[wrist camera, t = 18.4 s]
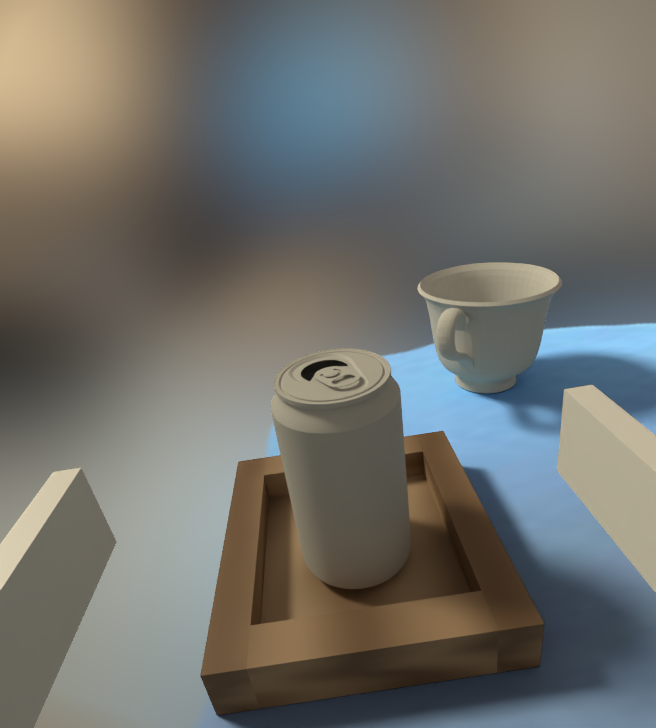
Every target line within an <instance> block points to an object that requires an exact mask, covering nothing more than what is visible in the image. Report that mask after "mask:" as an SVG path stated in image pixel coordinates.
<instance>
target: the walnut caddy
mask: <svg viewBox="0 0 656 728" xmlns="http://www.w3.org/2000/svg"><path fill="white" fill-rule="evenodd" d="M404 449H405V463H406V477H407V490H408V504H409V517H410V531H411V549H410V553H409V556H408V558H407V560H406V562H405V564H404V565H403V567H402V568H401V569H400V570H399V571H398V572H397V573H396V574H395V575H394V576H393V577H391V578H390V579H388V580H387V581H385V582H383V583H381V584H378V585H376V586H373V587H369V588H363V589H343V588H338V587H335V586H331V585H329V584H327V583H325V582H323V581H321V580H320V579H318V578H317V577H316V576H315V575H314V574H313V573H312V572H311V571H310V570H309V568H308V567H307V565H306V563H305V561H304V558H303V555H302V551H301V546H300V541H299V537H298V532H297V528H296V523H295V518H294V514H293V509H292V505H291V500H290V495H289V491H288V486H287V482H286V477H285V472H284V468H283V463H282V459H281V455H279V456H273V457H266V458H259V459H253V460H246V461H240V462H238V467H237V472H236V478H235V484H234V489H233V496H232V501H231V507H230V512H229V518H228V524H227V529H226V535H225V540H224V546H223V551H222V557H221V563H220V568H219V574H218V580H217V585H216V591H215V597H214V602H213V608H212V613H211V619H210V625H209V630H208V636H207V642H206V647H205V653H204V659H203V665H202V670H201V678H202V680H203V683H204V686H205V688H206V690H207V693H208V695H209V698H210V700H211V702H212V705H213V707H214V710H215V712H216V714H217V715H222V714H229V713H236V712H242V711H249V710H255V709H262V708H268V707H275V706H282V705H288V704H295V703H301V702H308V701H315V700H321V699H328V698H334V697H341V696H348V695H354V694H361V693H367V692H374V691H380V690H387V689H394V688H400V687H407V686H413V685H420V684H427V683H433V682H440V681H446V680H453V679H460V678H466V677H473V676H479V675H486V674H493V673H499V672H506V671H512V670H519V669H525V668H532V667H539V666H540V660H541V651H542V641H543V631H544V622H543V620H542V618H541V617H540V615H539V613H538V611H537V609H536V607H535V605H534V603H533V601H532V599H531V597H530V596H529V594H528V592H527V590H526V588H525V586H524V584H523V582H522V580H521V578H520V576H519V575H518V573H517V571H516V569H515V567H514V565H513V563H512V561H511V559H510V557H509V555H508V554H507V552H506V550H505V548H504V546H503V544H502V542H501V540H500V538H499V536H498V534H497V533H496V531H495V529H494V527H493V525H492V523H491V521H490V519H489V517H488V515H487V513H486V512H485V510H484V508H483V506H482V504H481V502H480V500H479V498H478V496H477V494H476V492H475V491H474V489H473V487H472V485H471V483H470V481H469V479H468V477H467V475H466V473H465V471H464V469H463V468H462V466H461V464H460V462H459V460H458V458H457V456H456V454H455V452H454V450H453V448H452V447H451V445H450V443H449V441H448V439H447V437H446V435H445V433H444V431H439V432H432V433H426V434H419V435H412V436H406V437H404Z"/></svg>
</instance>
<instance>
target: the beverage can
mask: <svg viewBox="0 0 656 728" xmlns="http://www.w3.org/2000/svg"><path fill="white" fill-rule="evenodd" d="M274 388H275V394H274V397H273V399H272V402H271V413H272V417H273V422H274V426H275V431H276V436H277V440H278V445H279V449H280V454H281V459H282V463H283V468H284V472H285V477H286V482H287V486H288V491H289V495H290V500H291V505H292V509H293V514H294V518H295V523H296V528H297V532H298V537H299V541H300V546H301V551H302V555H303V558H304V561H305V563H306V565H307V567H308V568H309V570H310V571H311V572H312V573H313V574H314V575H315V576H316V577H317V578H318V579H320V580H321V581H323V582H325V583H327V584H329V585H331V586H335V587H338V588H343V589H363V588H369V587H373V586H376V585H378V584H381V583H383V582H385V581H387V580H388V579H390V578H391V577H393V576H394V575H395V574H396V573H397V572H398V571H399V570H400V569H401V568H402V567H403V565H404V564H405V562H406V560H407V558H408V556H409V553H410V549H411V531H410V517H409V504H408V490H407V477H406V463H405V449H404V436H403V422H402V408H401V395H400V388H399V386H398V384H397V382H396V381H395V380H394V378H393V377H392V376H391V368H390V365H389V363H388V361H387V360H386V359H384V358H383V357H382V356H380V355H378V354H376V353H373V352H370V351H365V350H360V349H333V350H325V351H320V352H315V353H312V354H308V355H305V356H303V357H300V358H298V359H296V360H294V361H292V362H290V363H288V364H287V365H286V366H284V367H283V368H282V369H281V370H280V371H279V372H278V373H277V375H276V377H275V379H274Z"/></svg>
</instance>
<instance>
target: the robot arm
mask: <svg viewBox="0 0 656 728" xmlns="http://www.w3.org/2000/svg"><path fill="white" fill-rule="evenodd" d="M557 471H558V472H559V474H560V475H561V476H562V477H563V479H564V480H565V481H566V482H567V483H568V485H569V486H570V487H571V488H572V490H573V491H574V492H575V493H576V495H577V496H578V497H579V498H580V500H581V501H582V502H583V503H584V505H585V506H586V507H587V508H588V510H589V511H590V512H591V513H592V514H593V516H594V517H595V518H596V519H597V521H598V522H599V523H600V524H601V526H602V527H603V528H604V529H605V531H606V532H607V533H608V534H609V536H610V537H611V538H612V539H613V541H614V542H615V543H616V544H617V545H618V547H619V548H620V549H621V550H622V552H623V553H624V554H625V555H626V557H627V558H628V559H629V560H630V562H631V563H632V564H633V565H634V567H635V568H636V569H637V570H638V572H639V573H640V574H641V575H642V576H643V578H644V579H645V580H646V581H647V583H648V584H649V585H650V586H651V588H652V589H653V590H654V591H655V593H656V436H655V435H654V434H653V433H652V432H651V431H649V430H648V429H647V428H646V427H644V426H643V425H642V424H641V423H639V422H638V421H637V420H636V419H634V418H633V417H632V416H631V415H629V414H628V413H627V412H626V411H624V410H623V409H622V408H621V407H619V406H618V405H617V404H616V403H615V402H613V401H612V400H611V399H610V398H608V397H607V396H606V395H605V394H603V393H602V392H601V391H600V390H598V389H597V388H596V387H595V386H593V385H587V386H581V387H575V388H569V389H564V396H563V407H562V419H561V431H560V442H559V454H558V465H557ZM115 544H116V540H115V538H114V535H113V533H112V531H111V529H110V527H109V525H108V523H107V521H106V519H105V517H104V514H103V512H102V510H101V509H100V506H99V504H98V502H97V500H96V498H95V496H94V494H93V491H92V489H91V487H90V485H89V483H88V481H87V479H86V477H85V475H84V473H83V470H82V468H76V469H70V470H64V471H58V472H53V473H52V474H51V476H50V477H49V479H48V480H47V481H46V483H45V484H44V485H43V487H42V488H41V489H40V491H39V492H38V494H37V495H36V496H35V498H34V499H33V500H32V502H31V503H30V505H29V506H28V507H27V509H26V510H25V511H24V513H23V514H22V516H21V517H20V518H19V520H18V521H17V522H16V524H15V525H14V526H13V528H12V529H11V530H10V532H9V533H8V534H7V536H6V537H5V538H4V540H3V541H2V543H1V544H0V728H34V726H35V723H36V721H37V719H38V717H39V714H40V712H41V710H42V708H43V705H44V703H45V701H46V699H47V697H48V694H49V692H50V690H51V687H52V685H53V683H54V681H55V679H56V676H57V674H58V672H59V670H60V667H61V665H62V663H63V661H64V658H65V656H66V654H67V652H68V649H69V647H70V645H71V643H72V641H73V638H74V636H75V634H76V632H77V629H78V627H79V625H80V622H81V620H82V618H83V616H84V614H85V611H86V609H87V607H88V605H89V602H90V600H91V598H92V596H93V593H94V591H95V589H96V587H97V584H98V582H99V580H100V578H101V575H102V573H103V571H104V569H105V567H106V564H107V562H108V560H109V558H110V555H111V553H112V551H113V549H114V546H115Z"/></svg>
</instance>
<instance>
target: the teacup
mask: <svg viewBox="0 0 656 728" xmlns="http://www.w3.org/2000/svg"><path fill="white" fill-rule="evenodd" d="M561 285H562V281H561V279H560V278H559V277H558V275H557V274H555V273H554V272H552V271H551V270H548V269H546V268H543V267H539V266H534V265H528V264H519V263H478V264H469V265H462V266H457V267H452V268H448V269H444V270H441V271H438V272H435V273H433V274H430V275H429V276H427V277H425V278H424V279H423V280H422V281H421V282H420V284H419V285H418V292H419V293H420V294H421V295H422V296H423V297H424V298H425V300H426V302H427V306H428V311H429V315H430V321H431V327H432V333H433V339H434V344H435V348H436V352H437V355H438V357H439V360H440V361H441V363H442V364H443V366H444V367H445V368H446V369H447V370H449V371H450V372H452V373H454V374H455V382H456V383H457V384H458V385H459V386H460V387H461V388H463V389H465V390H468V391H472V392H476V393H498V392H502V391H505V390H508V389H510V388H511V387H513V386H514V385H515V383H516V380H517V378H516V375H518V374H520V373H522V372H524V371H525V370H526V369H528V368H529V367H530V365H531V364H532V363H533V362H534V360H535V358H536V356H537V353H538V350H539V347H540V343H541V339H542V334H543V329H544V325H545V320H546V315H547V311H548V307H549V304H550V300H551V298H552V296H553V294H554V293H555V292H556V291H557V290H558V289H559V288H560V287H561Z"/></svg>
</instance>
